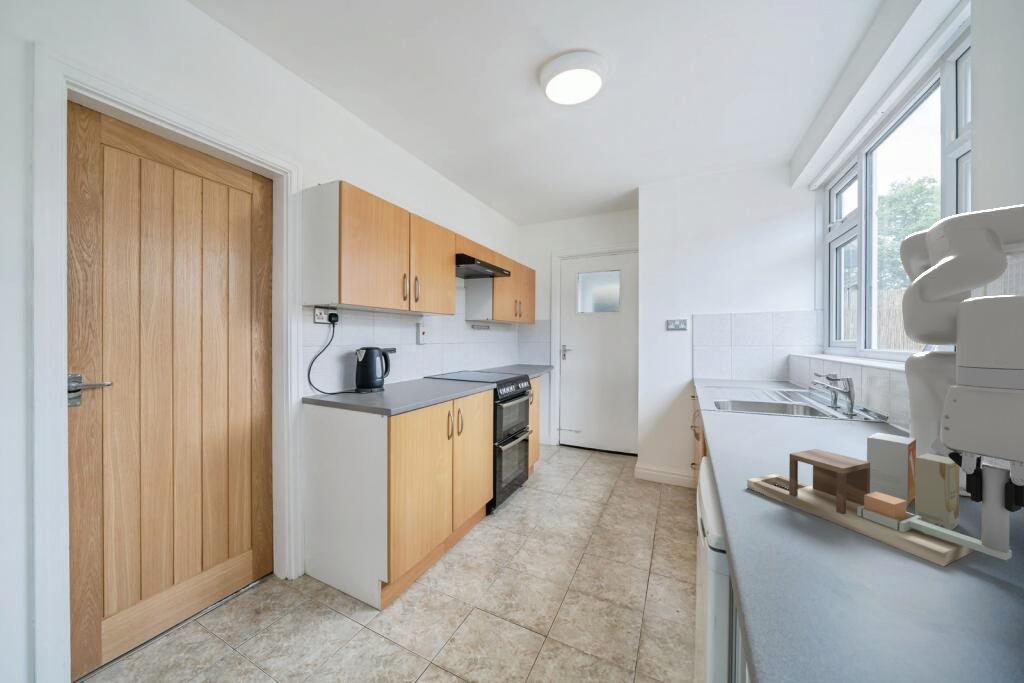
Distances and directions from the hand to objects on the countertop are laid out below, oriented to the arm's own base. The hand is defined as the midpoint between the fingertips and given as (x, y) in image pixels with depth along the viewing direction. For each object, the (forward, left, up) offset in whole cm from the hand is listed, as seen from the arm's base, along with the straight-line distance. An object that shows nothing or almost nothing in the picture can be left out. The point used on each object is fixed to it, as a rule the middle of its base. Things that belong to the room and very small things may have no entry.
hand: (995, 503), depth 52 cm
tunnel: (0, -20, -8) cm, 22 cm away
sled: (0, -7, -8) cm, 10 cm away
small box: (-20, -19, -10) cm, 30 cm away
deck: (0, -18, -10) cm, 21 cm away
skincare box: (-13, -10, -10) cm, 19 cm away
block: (0, -12, -8) cm, 15 cm away
